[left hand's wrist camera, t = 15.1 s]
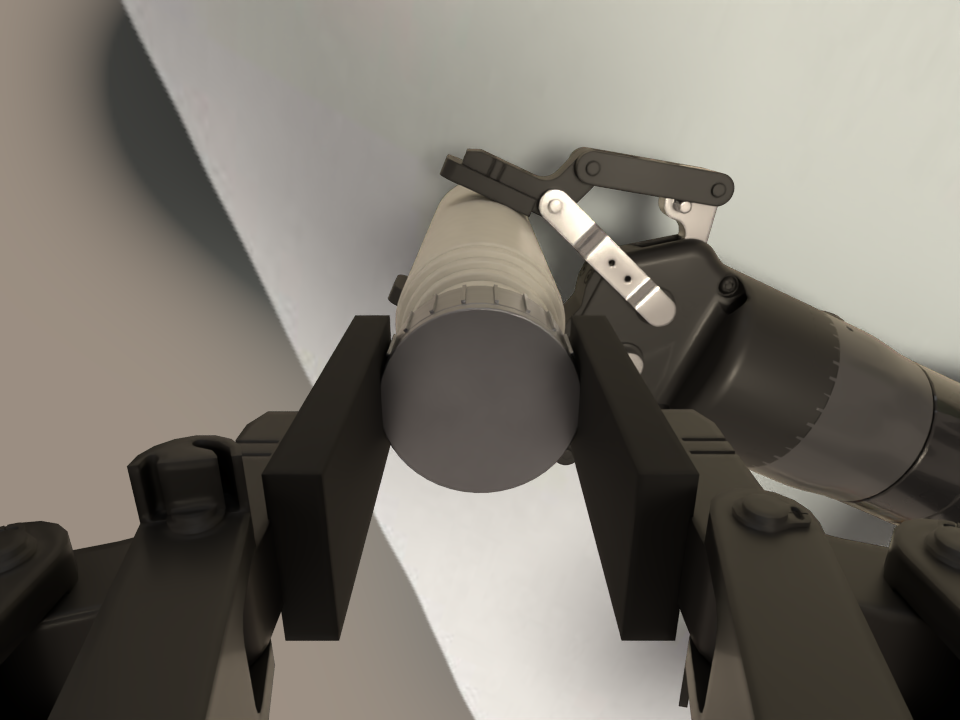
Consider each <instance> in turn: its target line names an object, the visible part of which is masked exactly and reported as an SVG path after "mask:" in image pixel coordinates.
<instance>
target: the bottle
mask: <svg viewBox="0 0 960 720" xmlns="http://www.w3.org/2000/svg"><path fill="white" fill-rule="evenodd" d="M494 284H495V285H498V287H499V288H503V289H507V290H511V291H514V292H516V293H519V294H521V295H523V293H524V294H526V295H527V297H528V298H529V299H531V300H532V301H534V302H535V303H537V304H538V305H539V306H541V307H542V308H543V309H544V310H545V311H546V312H547V311H548V310H549V311H550V312H551V314H552V317H553V319H554V320H555V322H556V323H557V324H558V326H559V327H560V329H561V331H562V332H563V334H564V332H565V312H564V306H563V302H562V299H561V295H560V293H559V291H558V288H557V286H556V284H555V281H554V279H553V276H552V274H551V272H550V269H549V267H548V265H547V262H546V260H545V257H544V255H543V253H542V250H541V248H540V246H539V243H538V241H537V238H536V236H535V234H534V231H533V229H532V227H531V224H530V222H529V219H528V217H527V216H526V215H524V214H521V213H519V212H517V211H515V210H513V209H511V208H509V207H507V206H505V205H502V204H500V203H498V202H496V201H493V200H491V199H489V198H487V197H485V196H483V195H480V194H478V193H476V192H474V191H472V190H470V189H467V188H465V187H463V186H461V185H458V186H456V187H455V188H453V189H452V190H450V191H449V192H448V193H447V194H446V195H445V196H444V198H443V199H442V200H441V202H440V203H439V205H438V207H437V210H436V212H435V214H434V217H433V219H432V221H431V224H430V226H429V228H428V231H427V233H426V236H425V238H424V240H423V243H422V245H421V247H420V250H419V252H418V254H417V257H416V259H415V262H414V264H413V266H412V269H411V271H410V273H409V276H408V278H407V280H406V283H405V285H404V288H403V290H402V292H401V295H400V298H399V301H398V305H397V310H396V324H395V325H396V335H397V334H398V332H399V330H400V328H401V327H402V325H403V324H404V323H405V321H406V320H407V318H408V315H409V313H410V312H411V311H413V312H414V311H415V310H416V309H418V308H419V307H420V306H421V305H423V304H424V303H425V302H427V301H428V300H430V299H432V298H433V295H434V294H437V295H440V294H442V293H444V292H447V291H450V290H453V289H457V288H461V287H462V285H466V286H467V287H468V286H492V287H493V286H494Z"/></svg>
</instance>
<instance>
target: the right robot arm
mask: <svg viewBox="0 0 960 720" xmlns="http://www.w3.org/2000/svg"><path fill="white" fill-rule="evenodd" d="M440 175H441V176H443V177H444V178H446V179H448V180H450V181H452V182H455V183H457V184H459V185H461V186H463V187H465V188H467V189H470V190H472V191H474V192H476V193H478V194H480V195H483V196H485V197H487V198H489V199H491V200H493V201H496V202H498V203H500V204H502V205H505V206H507V207H509V208H511V209H513V210H515V211H517V212H519V213H521V214H524V215H526V216H528V217H529V216H530V214H531V212H534V213H536V214H538V215H540V216H542V217H543V218H544V219H545V220H546V221H547V222H548V223H549V224H550V225H551V226H553V227H554V228H555V229H556V230H557V231H558V232H559V233H560V234H561V235H562V236H563V237H564V238H565V239H566V240H567V241H568V242H569V243H570V244H571V245H572V246H573V247H574V248H575V249H576V250H577V252H578V253H579V254H580V255H581V256H582V257H583V258H584V259H585V260H586V261H585V263H584V265H583V267H582V269H581V270H580V272H579V274H578V278H577V283H576V287H575V292H574V294H573V295H572V296H571V297H570V298H569V299H568V300H567V302H566V303H565V304H564V305H563V306H564V312H565V332H564V334H567V336H568V339H569V341H570V327H571V315H605V316H606V317H607V319H608V321H609V322H610V324H611V326H612V327H613V329H614V331H615V333H616V334H617V336H618V338H619V339H620V341H621V343H622V344H623V346H624V348H625V349H626V351H627V353H628V354H629V356H630V358H631V360H632V361H633V363H634V365H635V366H636V368H637V370H638V371H639V373H640V375H641V376H642V378H643V380H644V381H645V383H646V385H647V387H648V388H649V390H650V392H651V393H652V395H653V397H654V398H655V400H656V402H657V403H658V405H659V407H660V408H661V409H693V410H695V411H696V412H698V413H700V414H701V415H703V416H704V417H706V418H708V419H709V420H711V421H712V422H714V423H715V424H716V426H717V427H718V428H719V430H720V431H721V432H722V434H723V435H724V437H725V438H726V441H728V442H729V443H730V445H731V446H732V447H733V449H734V450H735V454H738V456H739V457H740V458H741V460H742V461H743V462H744V464H745V465H746V466H747V468H748V469H749V470H751V471H754V472H756V473H758V474H761V475H763V476H765V477H768V478H770V479H773V480H775V481H777V482H780V483H782V484H785V485H788V486H791V487H794V488H797V489H801V490H804V491H808V492H812V493H816V494H820V495H824V496H827V497H830V498H833V499H836V500H838V501H840V502H843V503H845V504H847V505H850V506H852V507H855V508H857V509H859V510H862V511H864V512H866V513H869V514H871V515H874V516H876V517H878V518H880V519H882V520H885V521H887V522H889V523H892V524H894V525H897V526H898V525H899V524H901V523H902V522H903V521H907V520H913V519H919V518H924V519H936V520H947V521H952V522H955V523H956V524H957V523H960V383H959V382H956V381H954V380H952V379H950V378H948V377H946V376H944V375H941V374H939V373H937V372H935V371H933V370H931V369H929V368H927V367H925V366H922V365H920V364H918V363H916V362H914V361H912V360H910V359H908V358H906V357H904V356H903V355H901V354H899V353H898V352H896V351H895V350H893V349H892V348H891V347H889V346H888V345H886V344H885V343H883V342H882V341H880V340H879V339H877V338H876V337H874V336H872V335H870V334H869V333H867V332H865V331H863V330H861V329H859V328H856V327H854V326H852V325H850V324H848V323H846V322H845V321H844V320H843V319H841V318H840V317H839V316H837V315H835V314H832V313H830V312H826V311H821V310H818V309H816V308H814V307H812V306H810V305H808V304H806V303H804V302H802V301H800V300H797V299H795V298H793V297H791V296H789V295H787V294H785V293H783V292H781V291H778V290H776V289H774V288H772V287H770V286H768V285H766V284H764V283H762V282H760V281H757V280H755V279H753V278H751V277H749V276H747V275H745V274H743V273H741V272H739V271H736V270H734V269H732V268H730V267H728V266H726V265H724V264H723V263H722V262H721V261H720V260H719V258H718V257H717V255H716V253H715V251H714V250H713V249H712V247H711V246H710V245H708V244H707V240H708V237H709V233H710V230H711V227H712V223H713V220H714V217H715V213H716V210H717V207H718V206H721V205H724V204H725V203H727V202H728V201H729V200H730V199H731V197H732V195H733V193H734V183H733V180H732V179H731V178H730V177H729V176H728V175H726V174H723V173H720V172H716V171H712V170H709V169H705V168H701V167H696V166H690V165H684V164H679V163H673V162H667V161H662V160H656V159H650V158H645V157H639V156H633V155H628V154H622V153H616V152H610V151H605V150H599V149H593V148H588V147H581V148H578V149H576V150H575V151H573V152H572V154H571V155H570V157H569V159H568V160H567V161H566V162H565V163H564V164H563V165H562V166H561V167H560V168H559V169H558V170H557V171H556V172H555V173H553V174H551V175H549V176H537V175H534V174H532V173H530V172H528V171H526V170H524V169H522V168H520V167H518V166H515V165H513V164H511V163H509V162H507V161H505V160H503V159H501V158H499V157H497V156H494V155H492V154H490V153H488V152H486V151H484V150H482V149H467V151H466V154H465V156H464V158H463V160H462V159H459V158H457V157H455V156H452V155H449V154H448V156H447V158H446V160H445V162H444V165H443V167H442V170H441V172H440ZM594 186H599V187H604V188H610V189H616V190H622V191H628V192H633V193H639V194H645V195H651V196H657V197H659V201H658V204H659V208H660V210H661V212H662V213H664V214H665V215H667V216H668V217H670V218H672V219H674V220H676V221H677V223H678V226H679V233H678V234H676V235H671V236H666V237H661V238H656V239H651V240H646V241H641V242H636V243H631V244H626V245H621V246H618V245H617V244H616V243H615V242H614V241H613V240H612V239H611V238H610V237H609V236H608V235H607V234H606V233H605V232H604V231H603V230H602V229H601V228H600V227H599V226H598V225H597V224H596V223H595V222H594V221H593V220H592V219H591V218H590V217H589V216H588V215H587V214H586V213H585V212H584V211H583V210H582V209H581V208H580V207H579V206H578V205H577V204H576V203H577V202H578V201H579V200H580V199H581V198H582V197H583V196H584V195H585V194H586V193H587V192H588V191H590V190H591V189H592V188H593V187H594ZM407 278H408V276H405V275H398V276H397V278H396V280H395V282H394V285H393V287H392V290H391V292H390V294H389V297H388V300H389V301H390V302H391V303H393V304H394V305H396V306H397V305H398V301H399V298H400V295H401V292H402V290H403V288H404V285H405V283H406V280H407ZM574 462H575V461H574V457H573V454H572V450H571V446H569V447H568V448H567V450H566V451H565V453H564V454H563V455H562V456H561V458H560V459H559V460H558V461H557V463H559V464H562V465H570V464H573V463H574Z"/></svg>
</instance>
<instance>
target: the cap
mask: <svg viewBox="0 0 960 720" xmlns="http://www.w3.org/2000/svg"><path fill="white" fill-rule="evenodd" d="M573 356H575V354H574V352H573V349H572V346H571V344H570V341H569V339H568V336H567V334H563V332H562V331H561V329H560V327H559V326H558V324H557V323H556V322H555V320H554V319H553V317H552V314H551V312H550V311H549V310H548V311H547V312H546V311H545V310H544V309H543V308H542V307H541V306H539V305H538V304H537V303H535V302H534V301H532V300H531V299H529V298H528V297H527V295H526V294H524V293H523V295H521V294H519V293H516V292H514V291H511V290H507V289H503V288H499V287H498V285H495V284H494V286H493V287H492V286H468V287H467V286H466V285H462V287H461V288H457V289H453V290H450V291H447V292H444V293H442V294H440V295H437V294H434V295H433V298H432V299H430V300H428V301H427V302H425V303H424V304H423V305H421V306H420V307H419V308H418V309H416V310H415V311H414V312H413V311H411V312H410V313H409V315H408V318H407V320H406V321H405V323H404V324H403V325H402V327H401V328H400V330H399V332H398V334H397V335H395V334H394V335H393V338H392V340H391V343H390V345H389V348H388V351H387V353H386V357H388V359H387V362H386V364H385V367H384V370H383V373H382V375H381V379H380V385H381V402H382V418H383V430H384V432H385V435H386V437H387V439H388V441H389V443H390V444H391V446H392V448H393V449H394V450H395V452H396V453H397V454H398V456H399V457H400V458H401V459H402V460H403V461H404V462H405V463H406V464H407V465H408V466H409V467H410V468H411V469H413V470H414V471H415V472H416V473H418V474H419V475H421V476H423V477H424V478H426V479H427V480H429V481H432V482H434V483H436V484H438V485H440V486H443V487H446V488H449V489H453V490H458V491H463V492H472V493H489V492H497V491H503V490H507V489H511V488H515V487H517V486H520V485H523V484H525V483H527V482H529V481H531V480H533V479H535V478H537V477H538V476H540V475H541V474H543V473H544V472H546V471H547V470H548V469H549V468H550V467H552V466H553V465H554V464H555V463H556V462H557V461H558V460H559V459H560V458H561V456H562V455H563V454H564V453H565V451H566V450H567V448H568V447H569V446H570V444H571V442H572V440H573V438H574V436H575V434H576V432H577V428H578V414H579V398H580V377H579V373H578V370H577V368H576V365H575V362H574V359H573Z"/></svg>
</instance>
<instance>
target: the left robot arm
mask: <svg viewBox="0 0 960 720" xmlns="http://www.w3.org/2000/svg"><path fill="white" fill-rule="evenodd" d="M390 343H391V332H390V315H355V317H354V319H353V320H352V322H351V324H350V325H349V327H348V329H347V330H346V332H345V334H344V336H343V337H342V339H341V341H340V342H339V344H338V346H337V347H336V349H335V351H334V352H333V354H332V356H331V357H330V359H329V361H328V363H327V364H326V366H325V368H324V369H323V371H322V373H321V374H320V376H319V378H318V379H317V381H316V383H315V385H314V386H313V388H312V390H311V391H310V393H309V395H308V396H307V398H306V400H305V401H304V403H303V405H302V407H301V408H300V410H299V411H269V412H266V413H265V414H263V415H262V416H260V417H258V418H257V419H255V420H254V421H252V422H250V423H249V424H247V425H246V427H245V428H244V429H243V431H242V432H241V433H240V435H239V436H238V438H237V439H236V442H234V441H233V440H232V439H229V438H225V437H220V436H216V435H199V436H198V435H196V436H190V437H185V438H179V439H174V440H171V441H168V442H165V443H162V444H159V445H156V446H154V447H152V448H150V449H148V450H147V451H145V452H143V453H141V454H139V455H138V456H137V457H136V458H135V459H134V460H133V461H132V462H131V463H130V464H129V465H128V466H127V468H128V473H129V477H130V481H131V486H132V490H133V494H134V498H135V503H136V507H137V511H138V515H139V520H140V526H139V528H138V530H137V532H136V534H135V536H134V538H130V539H126V540H122V541H118V542H113V543H108V544H103V545H98V546H92V547H87V548H82V549H77V550H73V549H72V546H71V542H70V539H69V535H68V532H67V531H66V530H65V529H64V528H62V527H61V526H60V525H59V524H56V523H50V522H44V521H36V522H24V523H15V524H9V525H7V526H6V527H5V526H1V527H0V720H269V712H270V702H271V694H272V685H273V676H274V668H275V663H274V656H273V650H272V643H271V636H272V633H273V631H274V628H275V626H276V623H277V621H278V618H279V616H280V613H282V620H283V626H284V633H285V640H286V641H339V639H340V635H341V631H342V628H343V624H344V620H345V616H346V612H347V609H348V605H349V601H350V597H351V593H352V590H353V586H354V582H355V578H356V574H357V570H358V567H359V563H360V559H361V555H362V551H363V548H364V544H365V540H366V536H367V532H368V529H369V525H370V521H371V517H372V513H373V510H374V506H375V502H376V498H377V494H378V491H379V487H380V483H381V479H382V475H383V472H384V468H385V464H386V460H387V456H388V452H389V449H390V445H391V444H390V443H389V441H388V439H387V437H386V435H385V432H384V430H383V418H382V402H381V385H380V379H381V375H382V373H383V370H384V367H385V364H386V362H387V359H388V357H386V353H387V351H388V348H389V345H390ZM570 344H571V346H572V349H573V352H574V354H575V356H573V359H574V362H575V365H576V368H577V370H578V373H579V377H580V398H579V414H578V428H577V432H576V434H575V436H574V438H573V440H572V442H571V444H570V446H571V450H572V454H573V457H574V461H575V465H576V469H577V473H578V476H579V480H580V484H581V488H582V492H583V495H584V499H585V503H586V507H587V511H588V514H589V518H590V522H591V526H592V530H593V533H594V537H595V541H596V545H597V549H598V552H599V556H600V560H601V564H602V568H603V571H604V575H605V579H606V583H607V587H608V590H609V594H610V598H611V602H612V606H613V609H614V613H615V617H616V621H617V625H618V629H619V632H620V636H621V640H622V641H675V638H676V632H677V625H678V618H679V611H680V610H681V613H682V615H683V618H684V621H685V623H686V626H687V628H688V631H689V633H690V637H689V643H688V650H687V656H686V663H685V669H684V675H683V682H682V688H681V694H680V701H679V706H681V707H687V706H688V701H690V710H691V719H692V720H960V523H957V524H956V523H955V522H952V521H947V520H936V519H924V518H919V519H913V520H907V521H903V522H902V523H901V524H899V525H898V526H897V527H896V528H894V532H893V535H892V539H891V542H890V546H889V548H888V547H883V546H878V545H873V544H867V543H862V542H857V541H852V540H847V539H842V538H838V537H834V536H830V535H826V534H825V533H824V531H823V529H822V526H821V524H820V523H819V521H818V520H817V519H816V518H815V516H814V515H813V514H812V513H811V511H810V510H808V509H807V508H805V507H804V506H802V505H801V504H799V503H798V502H796V501H795V500H792V499H790V498H787V497H785V496H782V495H780V494H777V493H775V492H770V491H765V490H763V488H762V487H761V485H760V484H759V483H758V481H757V480H756V479H755V477H754V476H753V475H752V473H751V472H750V471H749V469H748V468H747V466H746V465H745V464H744V462H743V461H742V460H741V458H740V457H739V456H738V454H735V450H734V449H733V447H732V446H731V445H730V443H729V442H728V441H726V438H725V437H724V435H723V434H722V432H721V431H720V430H719V428H718V427H717V426H716V424H715V423H714V422H712V421H711V420H709V419H708V418H706V417H704V416H703V415H701V414H700V413H698V412H696V411H695V410H693V409H661V408H660V407H659V405H658V403H657V402H656V400H655V398H654V397H653V395H652V393H651V392H650V390H649V388H648V387H647V385H646V383H645V381H644V380H643V378H642V376H641V375H640V373H639V371H638V370H637V368H636V366H635V365H634V363H633V361H632V360H631V358H630V356H629V354H628V353H627V351H626V349H625V348H624V346H623V344H622V343H621V341H620V339H619V338H618V336H617V334H616V333H615V331H614V329H613V327H612V326H611V324H610V322H609V321H608V319H607V317H606V316H605V315H571V327H570Z"/></svg>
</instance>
